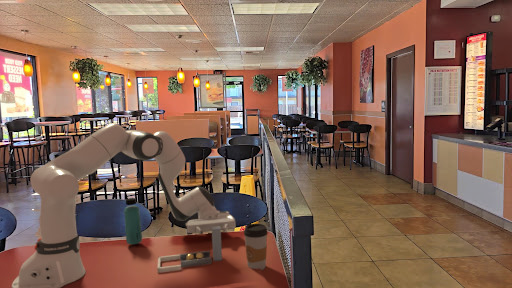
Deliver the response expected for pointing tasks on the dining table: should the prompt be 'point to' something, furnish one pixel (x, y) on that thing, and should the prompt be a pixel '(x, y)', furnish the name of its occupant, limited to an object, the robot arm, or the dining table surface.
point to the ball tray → (168, 268)
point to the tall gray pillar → (216, 243)
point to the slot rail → (195, 262)
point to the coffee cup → (256, 245)
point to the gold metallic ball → (189, 257)
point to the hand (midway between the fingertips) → (213, 231)
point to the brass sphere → (199, 256)
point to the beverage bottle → (132, 222)
